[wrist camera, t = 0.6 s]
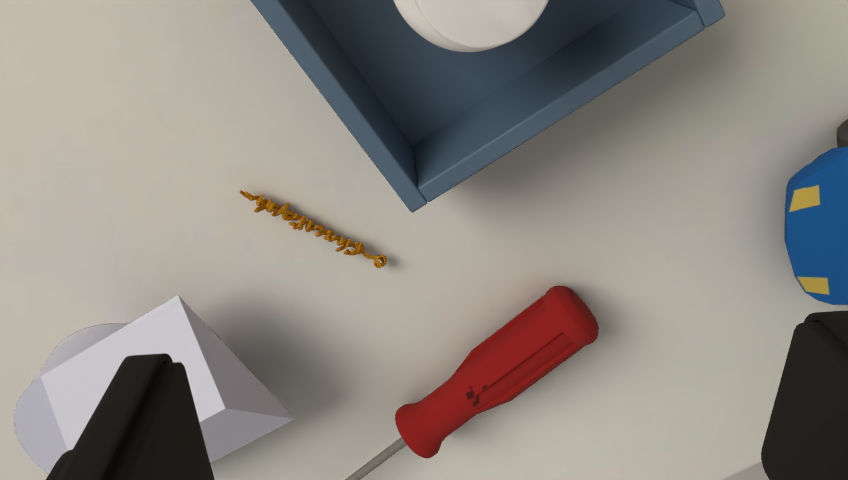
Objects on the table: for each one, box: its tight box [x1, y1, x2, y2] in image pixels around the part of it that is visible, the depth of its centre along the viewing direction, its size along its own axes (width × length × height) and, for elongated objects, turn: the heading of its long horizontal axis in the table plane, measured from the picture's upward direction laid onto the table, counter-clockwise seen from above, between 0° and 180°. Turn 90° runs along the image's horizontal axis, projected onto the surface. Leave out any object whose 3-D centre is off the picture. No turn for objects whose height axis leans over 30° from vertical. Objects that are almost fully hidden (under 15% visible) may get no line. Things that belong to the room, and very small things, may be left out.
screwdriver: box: [345, 286, 599, 480], centre depth 37 cm, size 4×25×4 cm, turn 133°
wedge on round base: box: [14, 295, 295, 474], centre depth 33 cm, size 9×7×13 cm
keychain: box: [240, 190, 387, 268], centre depth 32 cm, size 8×1×1 cm, turn 59°
